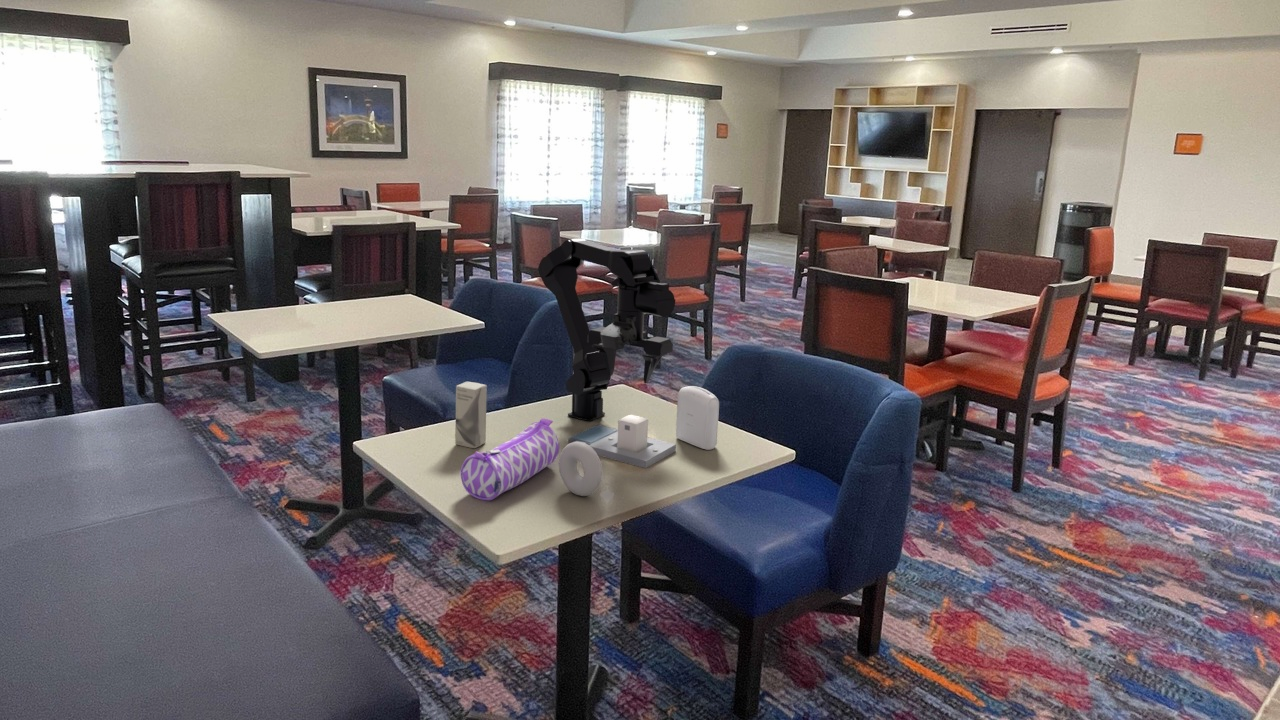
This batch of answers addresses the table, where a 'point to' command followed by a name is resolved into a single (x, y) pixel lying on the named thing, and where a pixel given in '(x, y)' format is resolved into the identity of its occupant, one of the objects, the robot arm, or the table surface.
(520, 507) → the table surface
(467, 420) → the box
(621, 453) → the outlet plate
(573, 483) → the donut
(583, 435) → the phone
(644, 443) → the block
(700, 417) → the photo printer
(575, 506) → the table surface
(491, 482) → the pencil case
